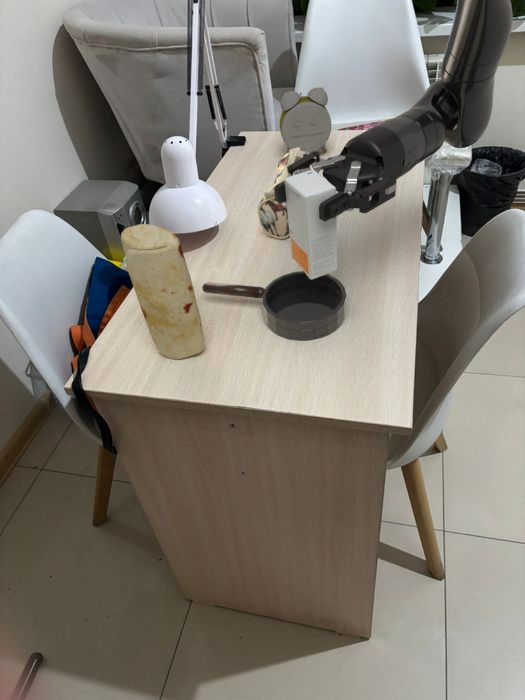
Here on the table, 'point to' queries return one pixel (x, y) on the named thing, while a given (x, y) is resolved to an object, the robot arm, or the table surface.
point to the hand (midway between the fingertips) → (298, 204)
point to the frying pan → (304, 306)
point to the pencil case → (274, 212)
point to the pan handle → (233, 290)
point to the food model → (164, 289)
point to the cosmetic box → (311, 224)
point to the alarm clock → (305, 120)
